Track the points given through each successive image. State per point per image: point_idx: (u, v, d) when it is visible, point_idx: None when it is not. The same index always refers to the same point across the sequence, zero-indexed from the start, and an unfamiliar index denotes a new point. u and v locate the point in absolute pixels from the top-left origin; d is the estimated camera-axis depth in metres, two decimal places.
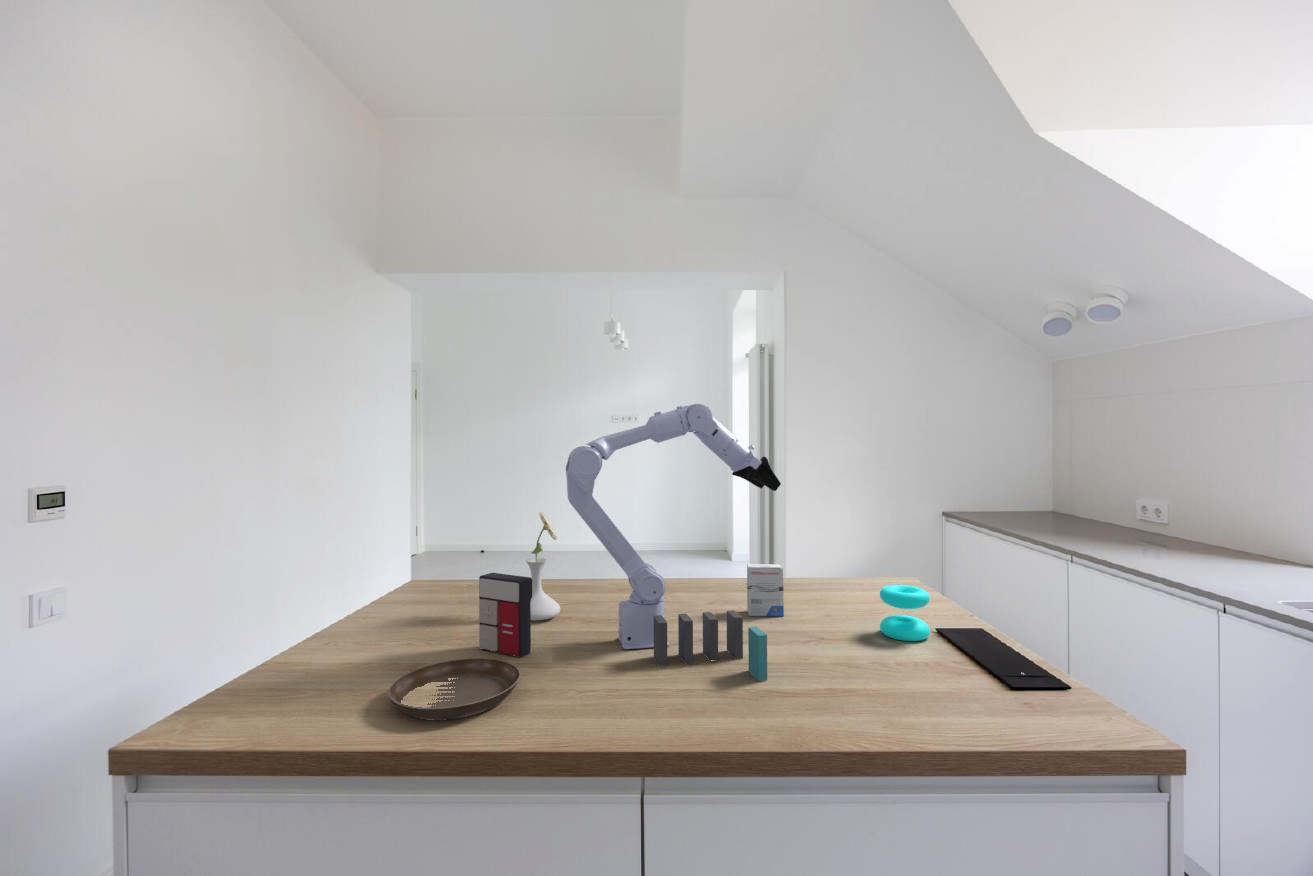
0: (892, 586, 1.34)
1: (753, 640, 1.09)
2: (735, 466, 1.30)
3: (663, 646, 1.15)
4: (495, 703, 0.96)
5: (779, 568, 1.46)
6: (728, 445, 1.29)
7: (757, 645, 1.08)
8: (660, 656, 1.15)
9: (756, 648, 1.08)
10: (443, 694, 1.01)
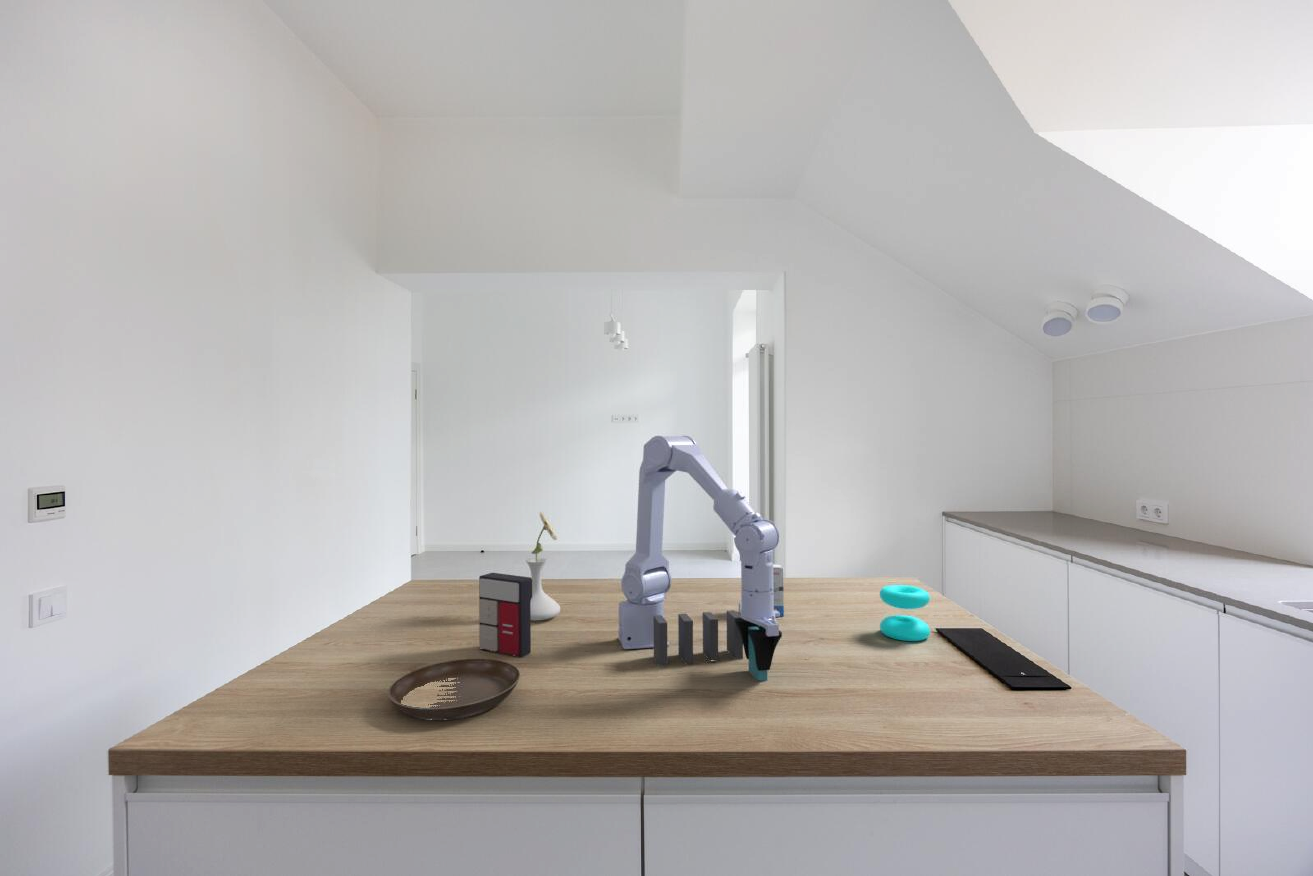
0: (892, 586, 1.34)
1: None
2: (748, 614, 1.07)
3: (663, 646, 1.15)
4: (495, 703, 0.96)
5: (779, 568, 1.46)
6: (747, 589, 1.08)
7: None
8: (660, 656, 1.15)
9: None
10: (443, 695, 1.01)
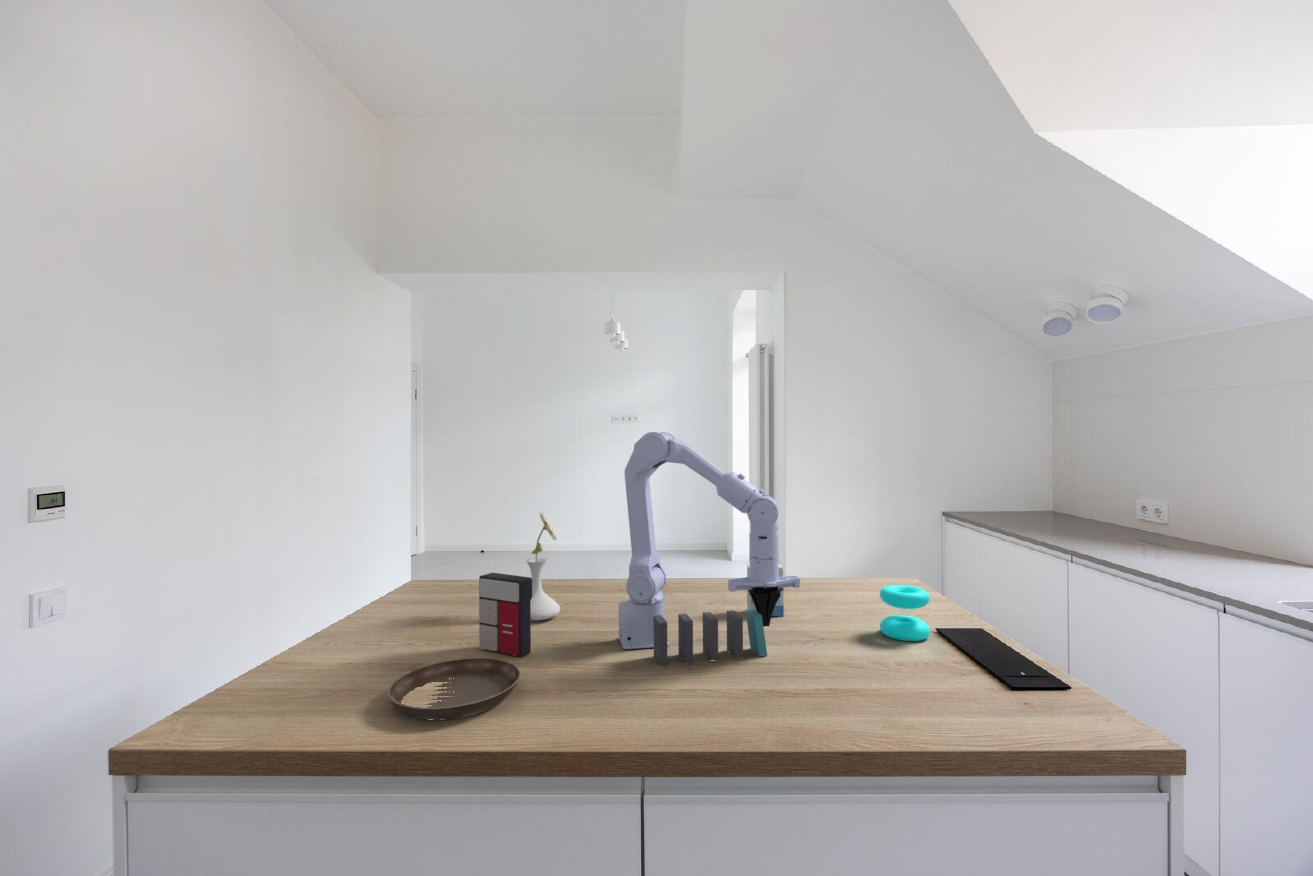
0: (892, 586, 1.34)
1: (751, 621, 1.21)
2: None
3: (663, 646, 1.15)
4: (496, 702, 0.96)
5: (779, 568, 1.46)
6: (761, 558, 1.19)
7: (754, 625, 1.19)
8: (660, 656, 1.15)
9: (754, 628, 1.19)
10: (443, 694, 1.01)
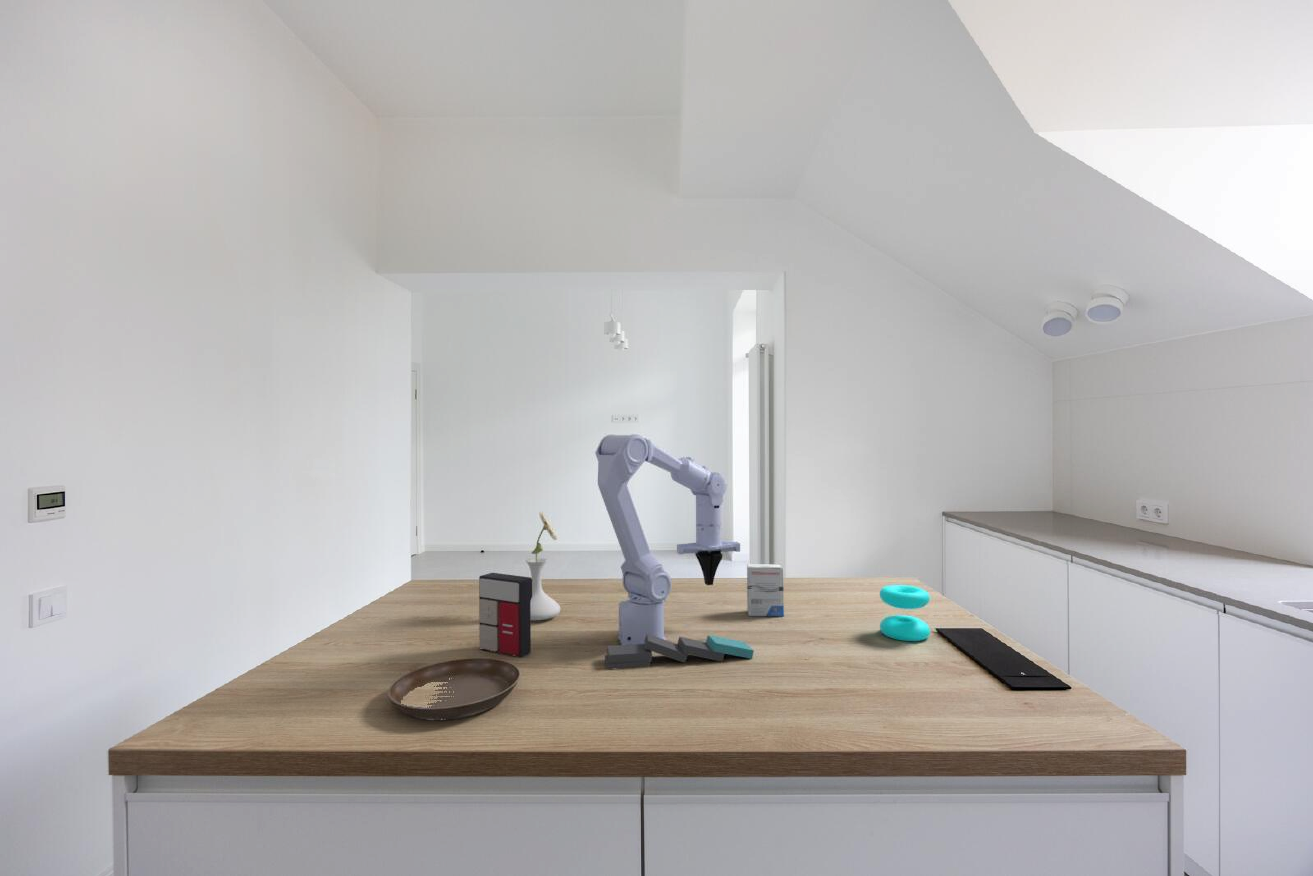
0: (892, 586, 1.34)
1: None
2: None
3: (631, 666, 1.14)
4: (496, 702, 0.96)
5: (779, 568, 1.46)
6: (716, 524, 1.37)
7: None
8: None
9: None
10: (443, 694, 1.01)
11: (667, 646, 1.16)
